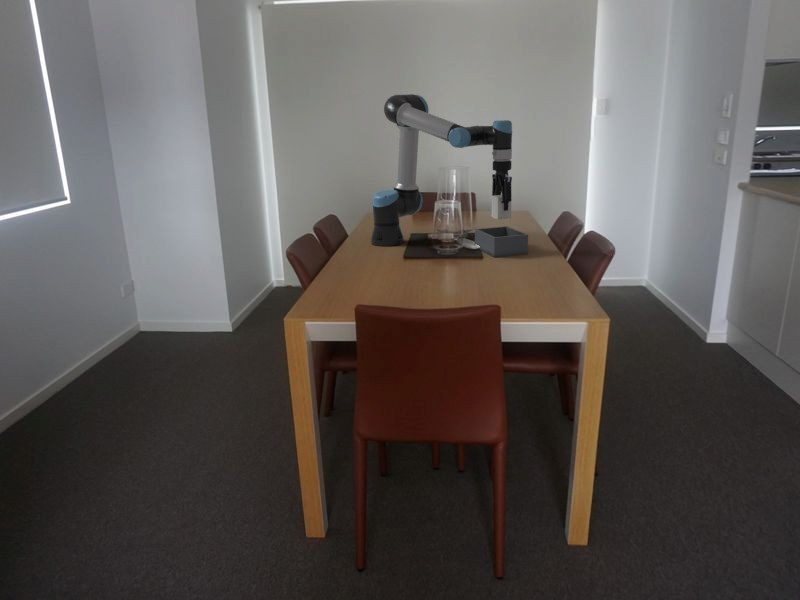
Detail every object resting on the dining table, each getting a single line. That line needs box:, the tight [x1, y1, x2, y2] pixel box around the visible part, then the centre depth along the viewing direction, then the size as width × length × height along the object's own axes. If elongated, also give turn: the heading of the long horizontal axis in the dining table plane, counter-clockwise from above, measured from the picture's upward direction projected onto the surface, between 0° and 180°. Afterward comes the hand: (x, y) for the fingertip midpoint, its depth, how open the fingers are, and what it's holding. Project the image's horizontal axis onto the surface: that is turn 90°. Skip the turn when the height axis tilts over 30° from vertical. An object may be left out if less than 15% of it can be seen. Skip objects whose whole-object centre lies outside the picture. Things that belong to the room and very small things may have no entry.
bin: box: [474, 225, 529, 258], centre depth 252 cm, size 20×15×8 cm
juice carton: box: [491, 194, 512, 220], centre depth 247 cm, size 6×6×10 cm
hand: (501, 216), depth 249 cm, fingers closed on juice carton, 6 cm apart
